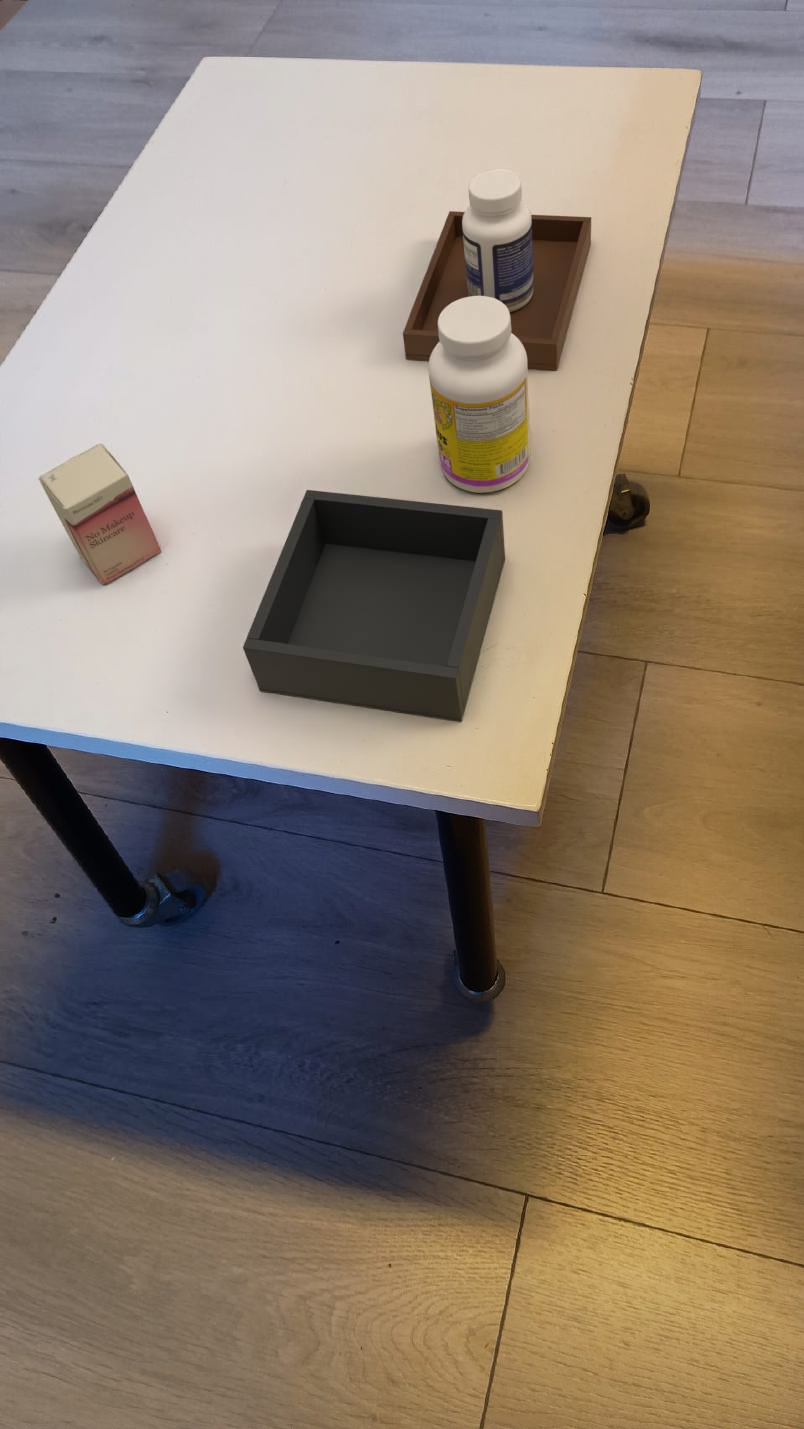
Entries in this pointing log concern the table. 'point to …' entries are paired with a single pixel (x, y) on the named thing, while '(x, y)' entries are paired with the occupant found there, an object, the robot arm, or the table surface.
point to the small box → (101, 513)
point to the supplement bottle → (480, 396)
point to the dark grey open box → (379, 604)
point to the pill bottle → (498, 239)
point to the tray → (535, 324)
